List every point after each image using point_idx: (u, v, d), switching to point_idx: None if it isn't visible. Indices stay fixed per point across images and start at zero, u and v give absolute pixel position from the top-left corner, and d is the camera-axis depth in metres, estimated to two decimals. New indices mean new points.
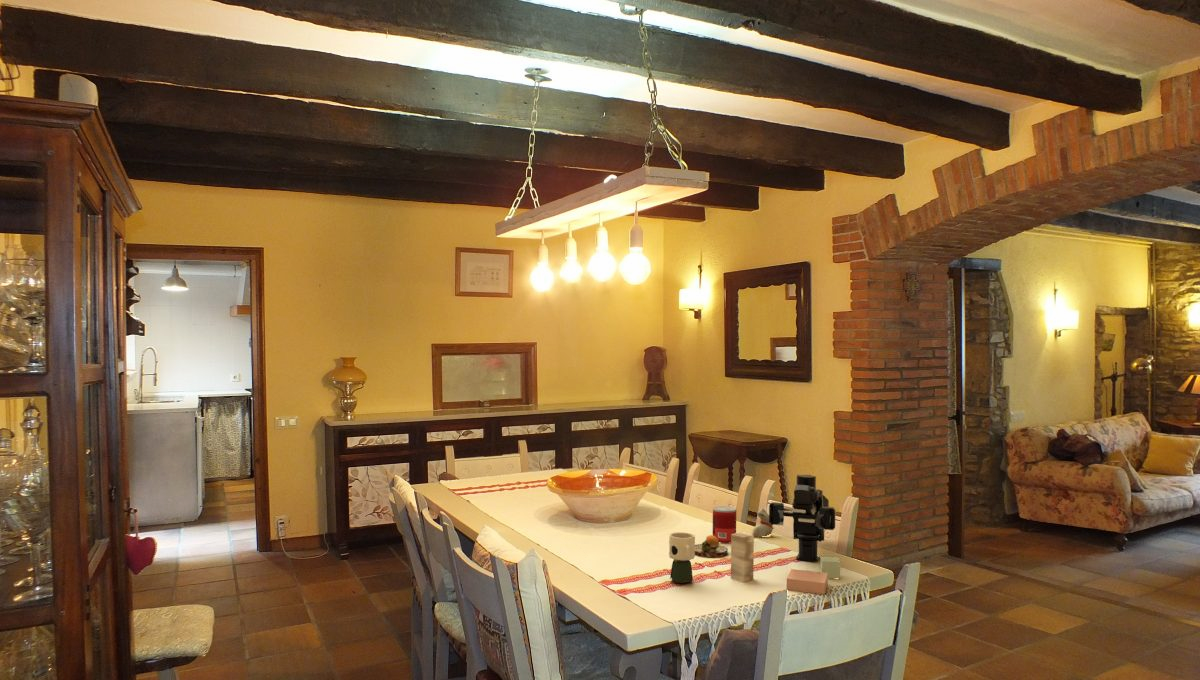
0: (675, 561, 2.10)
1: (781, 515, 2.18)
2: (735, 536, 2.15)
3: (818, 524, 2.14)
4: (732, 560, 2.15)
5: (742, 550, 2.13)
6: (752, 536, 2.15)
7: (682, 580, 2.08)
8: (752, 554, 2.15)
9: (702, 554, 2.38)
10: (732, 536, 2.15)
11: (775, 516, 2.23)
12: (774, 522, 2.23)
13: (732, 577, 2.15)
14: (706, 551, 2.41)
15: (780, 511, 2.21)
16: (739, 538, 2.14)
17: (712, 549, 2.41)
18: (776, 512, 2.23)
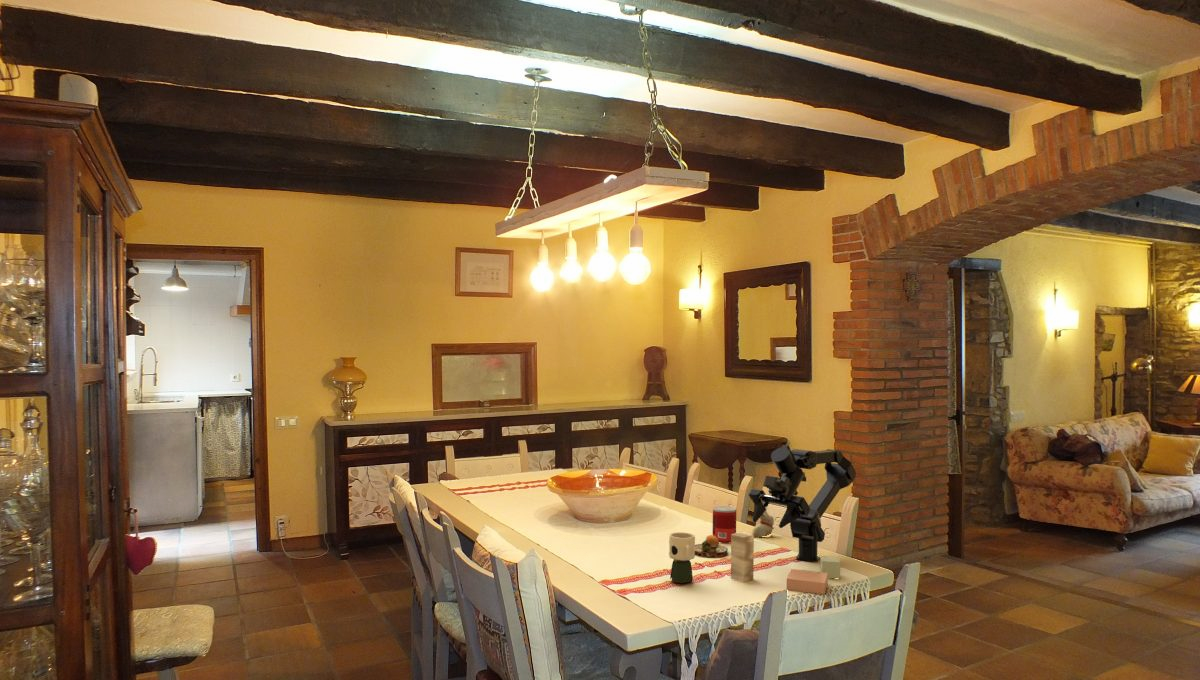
0: (675, 561, 2.10)
1: (754, 514, 2.27)
2: (735, 536, 2.15)
3: (785, 524, 2.20)
4: (732, 560, 2.15)
5: (742, 550, 2.13)
6: (752, 536, 2.15)
7: (682, 580, 2.08)
8: (752, 554, 2.15)
9: (702, 554, 2.38)
10: (732, 536, 2.15)
11: None
12: None
13: (732, 577, 2.15)
14: (706, 551, 2.41)
15: (755, 505, 2.29)
16: (739, 538, 2.14)
17: (712, 549, 2.41)
18: None
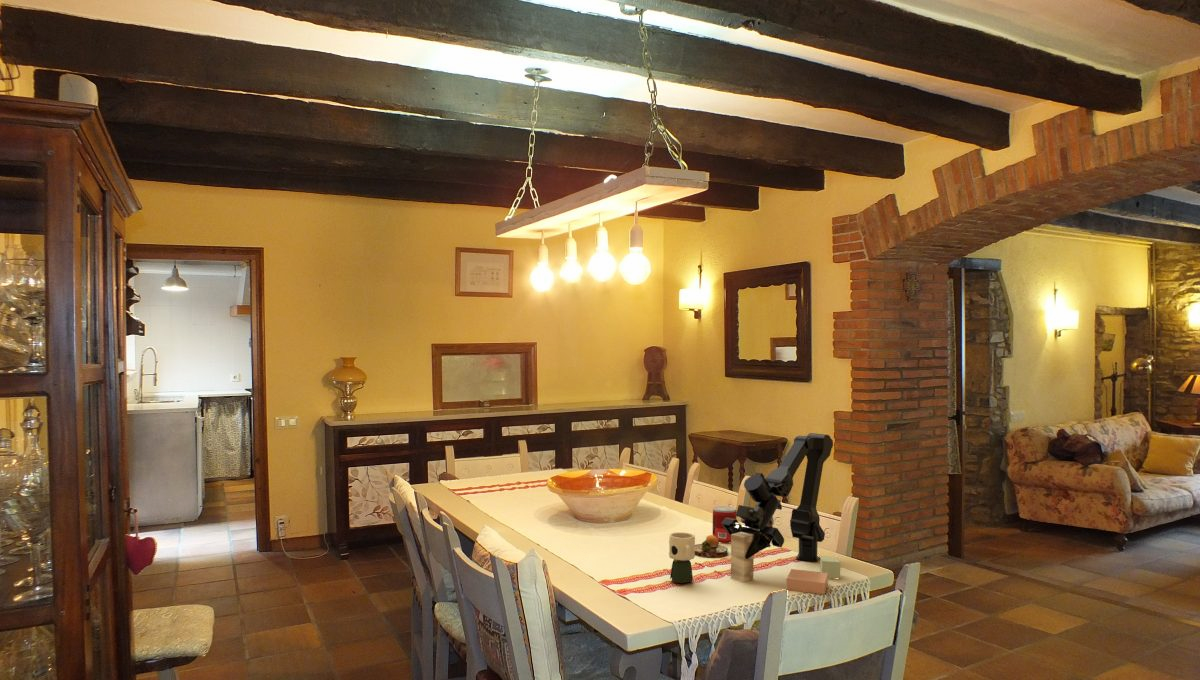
0: (675, 561, 2.10)
1: None
2: (735, 536, 2.15)
3: (752, 554, 2.13)
4: (732, 560, 2.15)
5: (742, 550, 2.13)
6: (752, 536, 2.15)
7: (682, 580, 2.08)
8: None
9: (702, 554, 2.38)
10: (732, 536, 2.15)
11: None
12: None
13: (732, 577, 2.15)
14: (706, 551, 2.41)
15: None
16: (739, 538, 2.14)
17: (712, 549, 2.41)
18: None
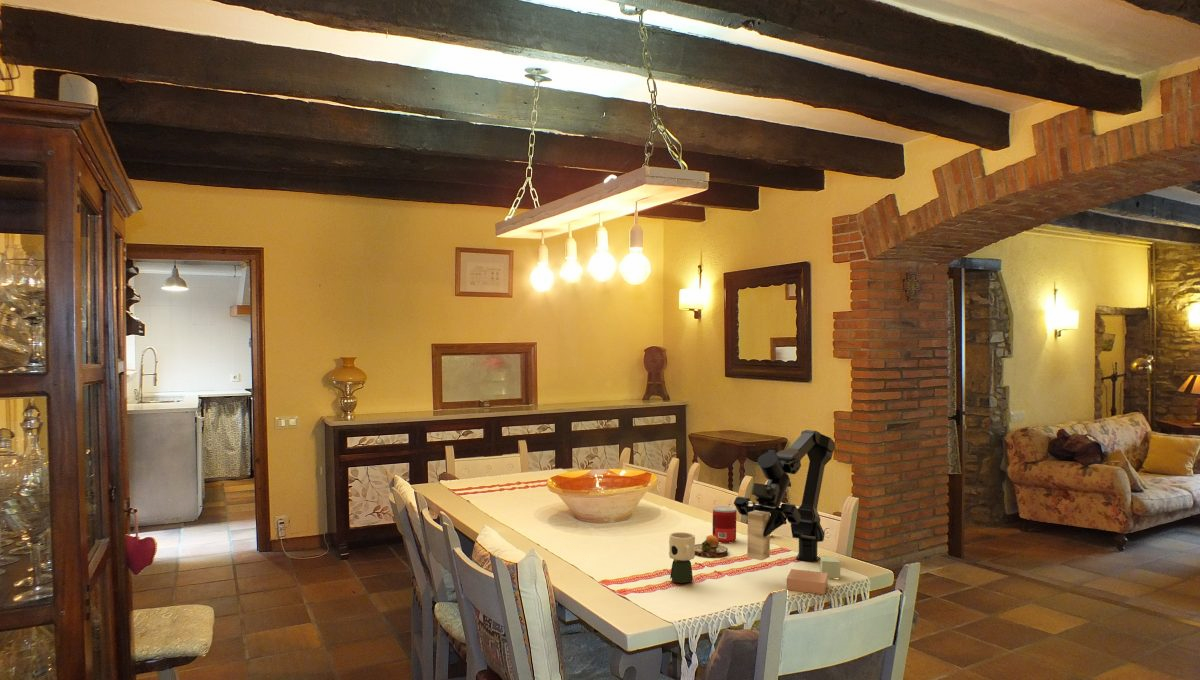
0: (675, 561, 2.10)
1: None
2: (752, 514, 2.12)
3: (769, 532, 2.11)
4: (749, 539, 2.12)
5: (760, 528, 2.10)
6: (768, 514, 2.13)
7: (682, 580, 2.08)
8: None
9: (702, 554, 2.38)
10: (749, 514, 2.13)
11: None
12: None
13: (749, 556, 2.12)
14: (706, 551, 2.41)
15: None
16: (757, 516, 2.11)
17: (712, 549, 2.41)
18: None
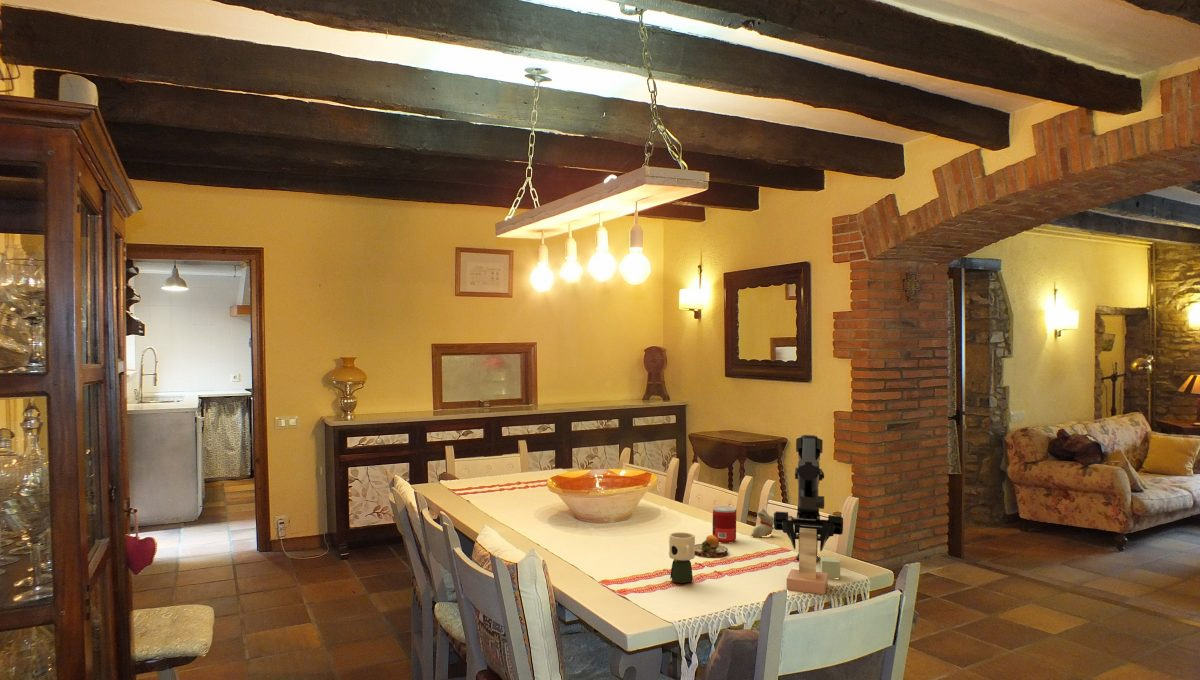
0: (675, 561, 2.10)
1: (793, 540, 2.09)
2: (805, 533, 2.07)
3: (823, 545, 2.08)
4: (801, 558, 2.07)
5: (814, 546, 2.06)
6: (816, 530, 2.10)
7: (682, 580, 2.08)
8: None
9: (702, 554, 2.38)
10: (801, 533, 2.07)
11: (785, 528, 2.14)
12: (784, 531, 2.15)
13: (801, 575, 2.07)
14: (706, 551, 2.41)
15: (791, 530, 2.11)
16: (810, 534, 2.07)
17: (712, 549, 2.41)
18: (786, 525, 2.13)
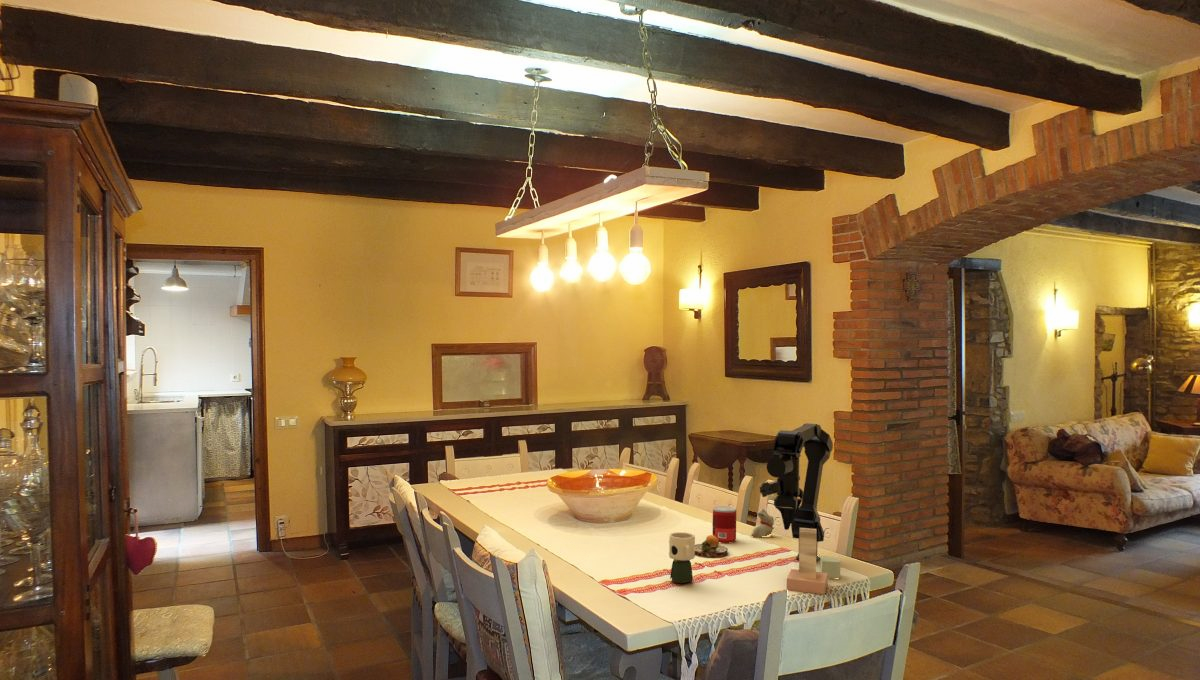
0: (675, 561, 2.10)
1: None
2: (805, 533, 2.07)
3: (788, 523, 2.19)
4: (801, 558, 2.07)
5: (814, 546, 2.06)
6: (816, 530, 2.10)
7: (682, 580, 2.08)
8: None
9: (702, 554, 2.38)
10: (801, 533, 2.07)
11: None
12: None
13: (801, 575, 2.07)
14: (706, 551, 2.41)
15: None
16: (810, 534, 2.07)
17: (712, 549, 2.41)
18: None
